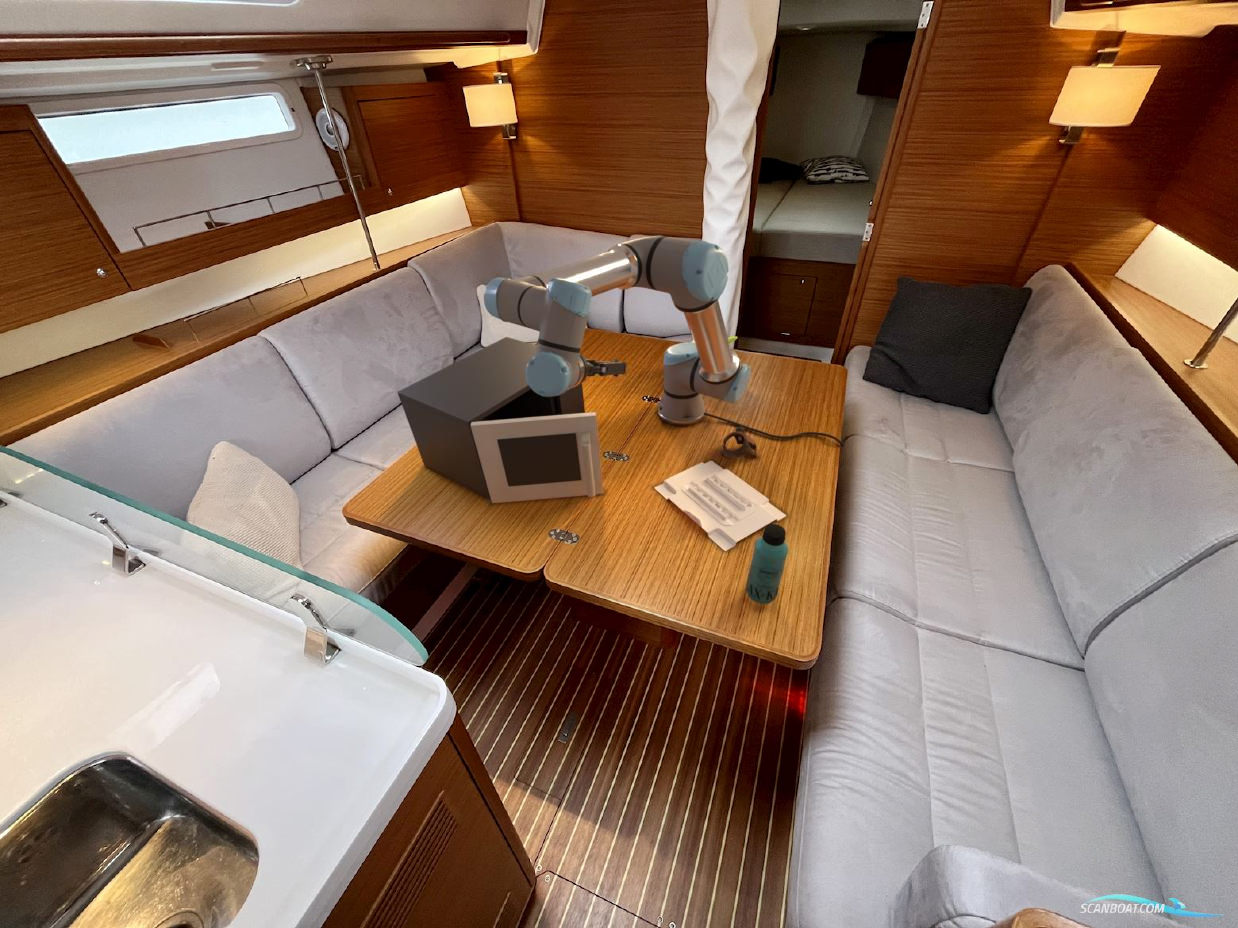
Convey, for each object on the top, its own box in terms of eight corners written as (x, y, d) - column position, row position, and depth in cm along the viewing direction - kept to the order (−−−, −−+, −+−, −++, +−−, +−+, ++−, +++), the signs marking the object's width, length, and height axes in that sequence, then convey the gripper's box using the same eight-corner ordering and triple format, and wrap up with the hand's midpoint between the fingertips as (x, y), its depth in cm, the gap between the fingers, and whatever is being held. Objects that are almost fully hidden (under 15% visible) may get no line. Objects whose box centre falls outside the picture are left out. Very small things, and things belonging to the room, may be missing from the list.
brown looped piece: (761, 465, 140) (752, 448, 134) (729, 474, 144) (719, 458, 138) (757, 432, 147) (747, 416, 141) (726, 442, 151) (716, 426, 145)
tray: (711, 460, 142) (712, 449, 139) (786, 518, 124) (789, 507, 121) (653, 488, 133) (653, 477, 131) (725, 554, 115) (726, 544, 113)
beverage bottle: (740, 585, 107) (751, 519, 94) (771, 583, 107) (786, 516, 95) (749, 611, 102) (762, 544, 89) (781, 608, 102) (798, 541, 90)
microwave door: (604, 509, 128) (597, 429, 112) (489, 519, 127) (466, 440, 112) (603, 489, 134) (596, 411, 118) (492, 499, 133) (471, 422, 118)
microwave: (589, 431, 157) (581, 358, 141) (496, 503, 132) (474, 425, 116) (519, 405, 171) (506, 336, 156) (424, 466, 146) (397, 391, 131)
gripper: (505, 385, 99) (536, 376, 120) (628, 392, 97) (639, 382, 117) (504, 346, 97) (536, 344, 118) (630, 353, 95) (640, 350, 115)
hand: (587, 363), depth 117 cm, fingers open, 13 cm apart
